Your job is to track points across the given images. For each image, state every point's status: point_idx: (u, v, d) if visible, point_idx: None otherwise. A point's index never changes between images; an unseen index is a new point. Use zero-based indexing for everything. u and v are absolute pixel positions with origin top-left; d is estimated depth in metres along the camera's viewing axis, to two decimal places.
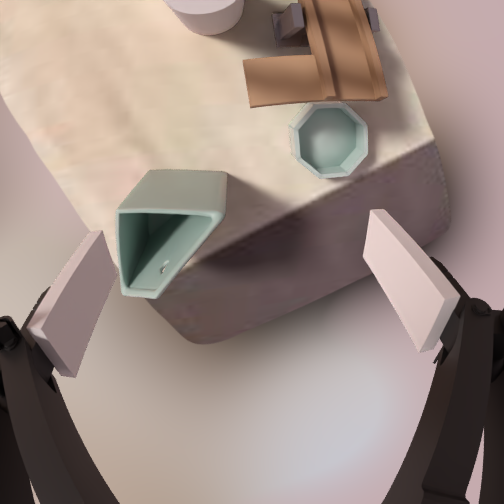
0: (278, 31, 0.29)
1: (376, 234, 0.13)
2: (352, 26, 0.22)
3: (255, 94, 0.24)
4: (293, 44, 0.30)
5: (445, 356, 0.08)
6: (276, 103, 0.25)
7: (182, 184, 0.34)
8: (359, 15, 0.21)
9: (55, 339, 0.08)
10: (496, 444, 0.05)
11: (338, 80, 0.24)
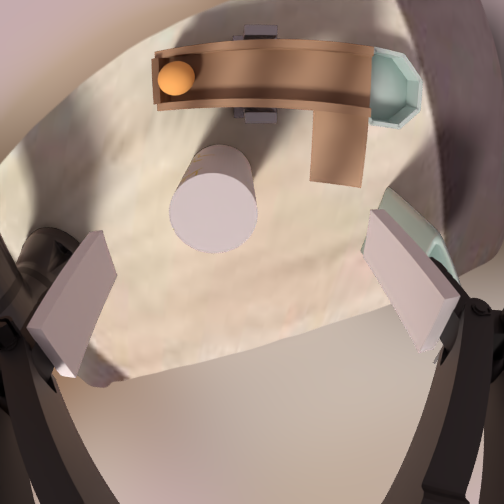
0: None
1: (376, 234, 0.13)
2: (272, 55, 0.22)
3: (350, 179, 0.26)
4: None
5: (445, 356, 0.08)
6: (363, 163, 0.25)
7: None
8: (258, 47, 0.20)
9: (55, 339, 0.08)
10: (496, 444, 0.05)
11: (347, 92, 0.22)
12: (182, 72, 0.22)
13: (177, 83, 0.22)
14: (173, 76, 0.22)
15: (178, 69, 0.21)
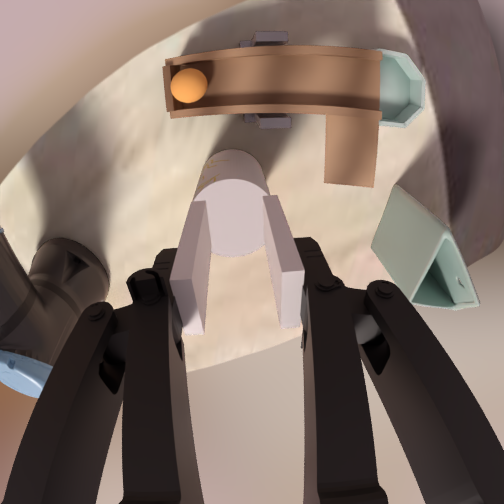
0: None
1: (264, 218, 0.14)
2: (283, 60, 0.22)
3: (363, 180, 0.27)
4: None
5: None
6: (375, 163, 0.26)
7: (400, 234, 0.36)
8: (270, 53, 0.21)
9: (196, 292, 0.10)
10: (412, 438, 0.06)
11: (358, 95, 0.22)
12: (196, 79, 0.22)
13: (191, 90, 0.23)
14: (187, 84, 0.22)
15: (191, 76, 0.22)
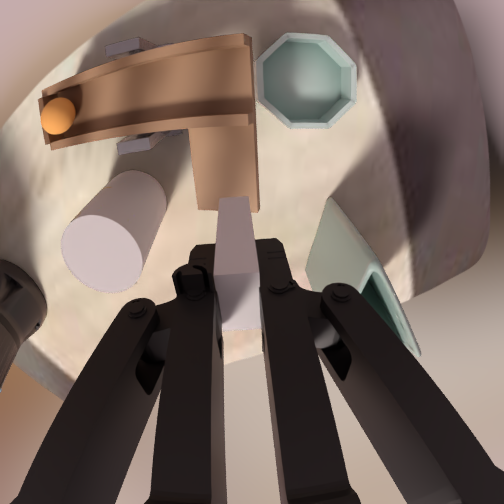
0: None
1: None
2: (140, 71, 0.18)
3: None
4: None
5: None
6: (256, 182, 0.22)
7: (329, 259, 0.33)
8: (120, 67, 0.17)
9: None
10: (384, 443, 0.06)
11: (223, 97, 0.18)
12: (56, 111, 0.18)
13: (53, 123, 0.19)
14: (49, 117, 0.18)
15: (53, 108, 0.18)
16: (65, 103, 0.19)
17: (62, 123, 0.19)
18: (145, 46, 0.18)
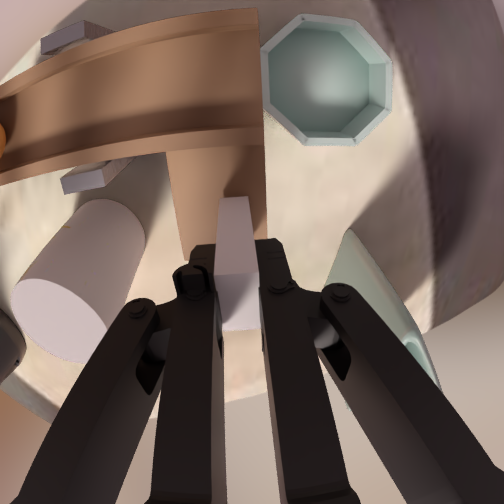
0: None
1: None
2: (91, 70, 0.11)
3: None
4: None
5: None
6: (266, 220, 0.16)
7: None
8: (63, 65, 0.10)
9: None
10: (384, 443, 0.06)
11: (219, 103, 0.13)
12: None
13: None
14: None
15: None
16: None
17: None
18: (97, 34, 0.11)
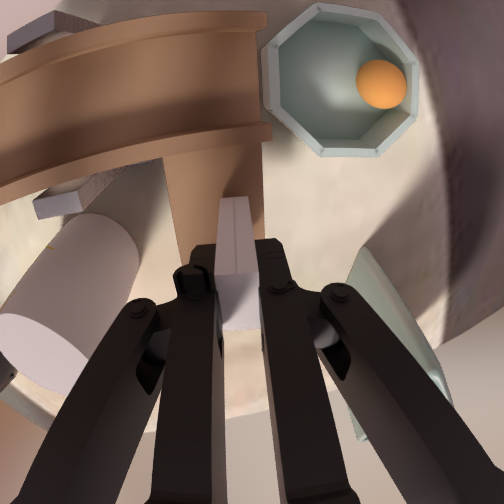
0: None
1: None
2: (71, 69, 0.09)
3: None
4: None
5: None
6: (262, 214, 0.17)
7: None
8: (44, 60, 0.07)
9: None
10: (384, 443, 0.06)
11: (219, 103, 0.13)
12: None
13: None
14: None
15: None
16: (360, 69, 0.15)
17: None
18: (73, 26, 0.08)
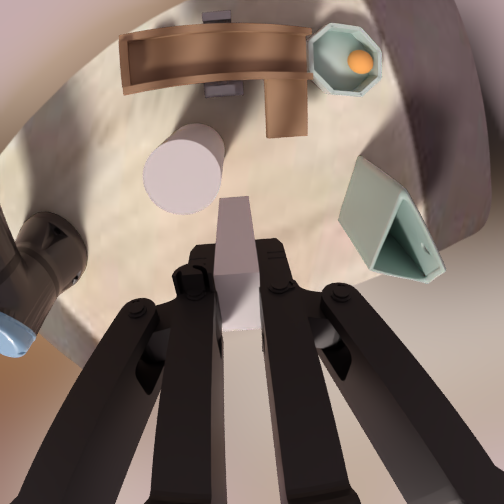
0: None
1: None
2: (231, 37, 0.24)
3: (299, 130, 0.32)
4: (240, 80, 0.33)
5: None
6: (306, 116, 0.32)
7: (362, 202, 0.37)
8: (225, 29, 0.22)
9: None
10: (384, 443, 0.06)
11: (290, 63, 0.27)
12: None
13: None
14: None
15: None
16: (349, 54, 0.30)
17: None
18: None
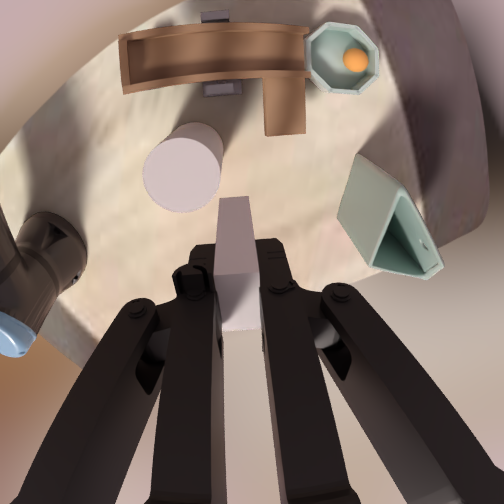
0: None
1: None
2: (229, 36, 0.24)
3: (297, 128, 0.32)
4: (238, 79, 0.33)
5: None
6: (304, 114, 0.32)
7: (361, 199, 0.38)
8: (223, 29, 0.22)
9: None
10: (384, 443, 0.06)
11: (288, 62, 0.28)
12: None
13: None
14: None
15: None
16: None
17: None
18: None
